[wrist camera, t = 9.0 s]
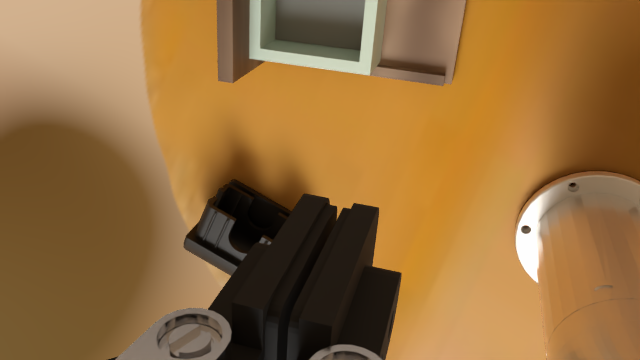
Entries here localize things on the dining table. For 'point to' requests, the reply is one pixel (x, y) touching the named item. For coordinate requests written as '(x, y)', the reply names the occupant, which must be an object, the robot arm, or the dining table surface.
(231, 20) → the rail board
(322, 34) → the socket block
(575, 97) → the dining table surface
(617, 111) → the dining table surface
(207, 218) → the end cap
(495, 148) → the dining table surface
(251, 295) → the robot arm
